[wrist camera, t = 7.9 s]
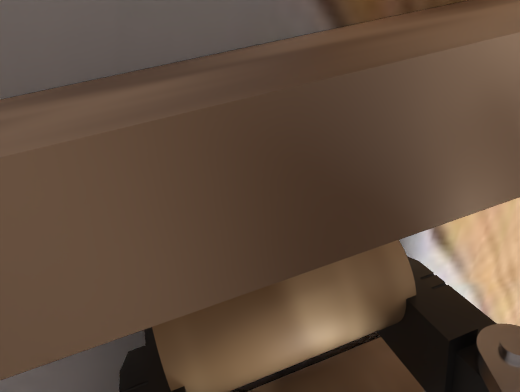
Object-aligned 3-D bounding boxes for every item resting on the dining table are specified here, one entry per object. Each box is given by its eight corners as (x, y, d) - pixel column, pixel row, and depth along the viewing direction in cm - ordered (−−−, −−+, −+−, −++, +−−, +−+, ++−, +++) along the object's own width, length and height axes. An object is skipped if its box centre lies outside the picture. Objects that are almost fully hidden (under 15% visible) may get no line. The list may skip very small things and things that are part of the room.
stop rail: (-160, 265, 8) (-513, 561, 4) (-253, 153, 7) (-940, 383, 2) (503, 84, 11) (737, 120, 7) (514, -10, 10) (802, -37, 6)
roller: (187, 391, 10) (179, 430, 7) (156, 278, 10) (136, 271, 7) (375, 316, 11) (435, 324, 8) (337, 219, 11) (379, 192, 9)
